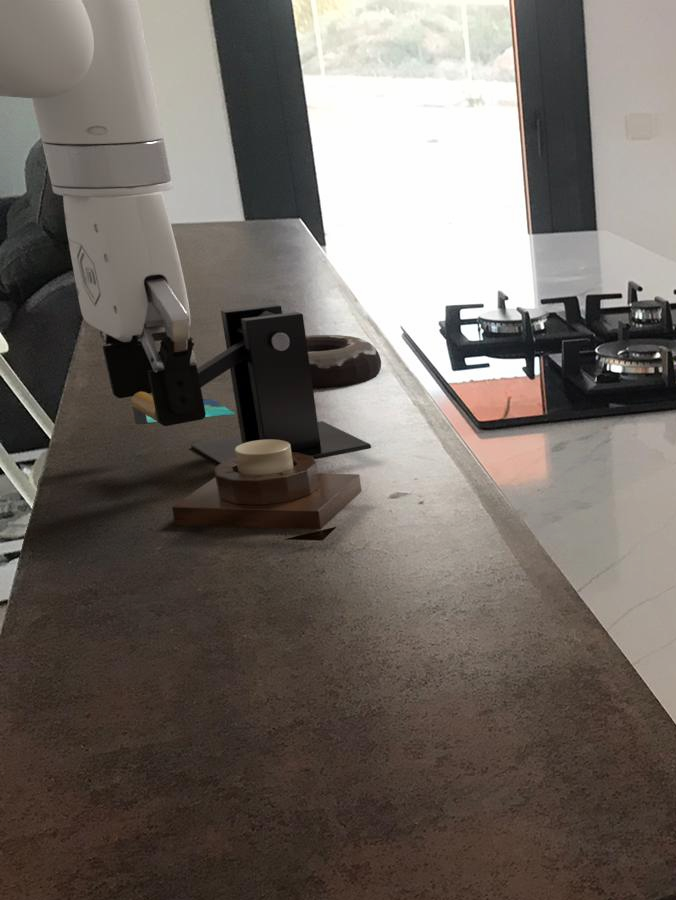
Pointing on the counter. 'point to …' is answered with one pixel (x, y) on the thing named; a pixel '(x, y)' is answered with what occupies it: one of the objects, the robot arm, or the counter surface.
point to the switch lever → (201, 372)
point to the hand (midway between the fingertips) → (159, 407)
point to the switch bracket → (275, 388)
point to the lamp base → (270, 499)
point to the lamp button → (263, 457)
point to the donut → (341, 360)
